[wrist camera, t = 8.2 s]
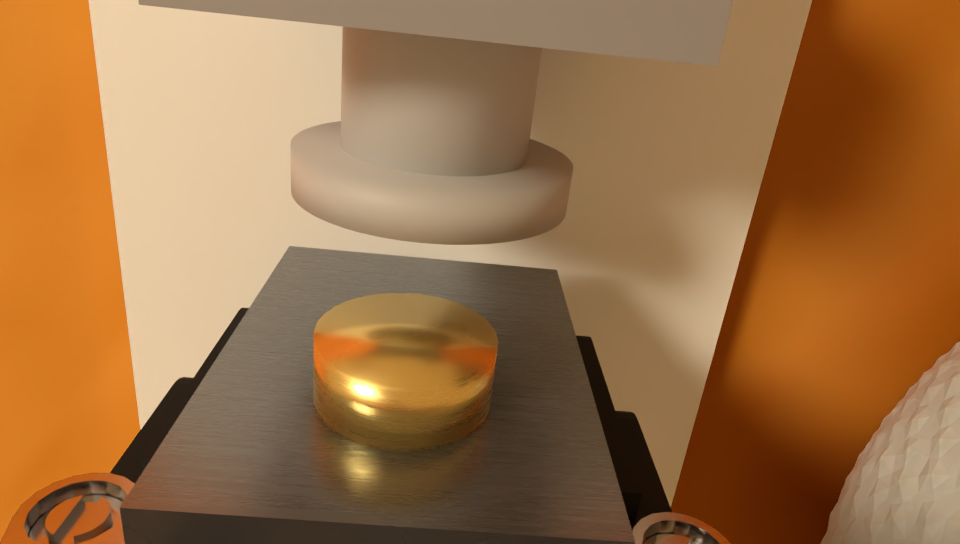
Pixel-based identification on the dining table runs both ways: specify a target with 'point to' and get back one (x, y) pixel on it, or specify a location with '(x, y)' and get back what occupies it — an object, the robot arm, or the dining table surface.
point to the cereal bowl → (908, 469)
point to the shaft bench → (583, 108)
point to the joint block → (388, 416)
